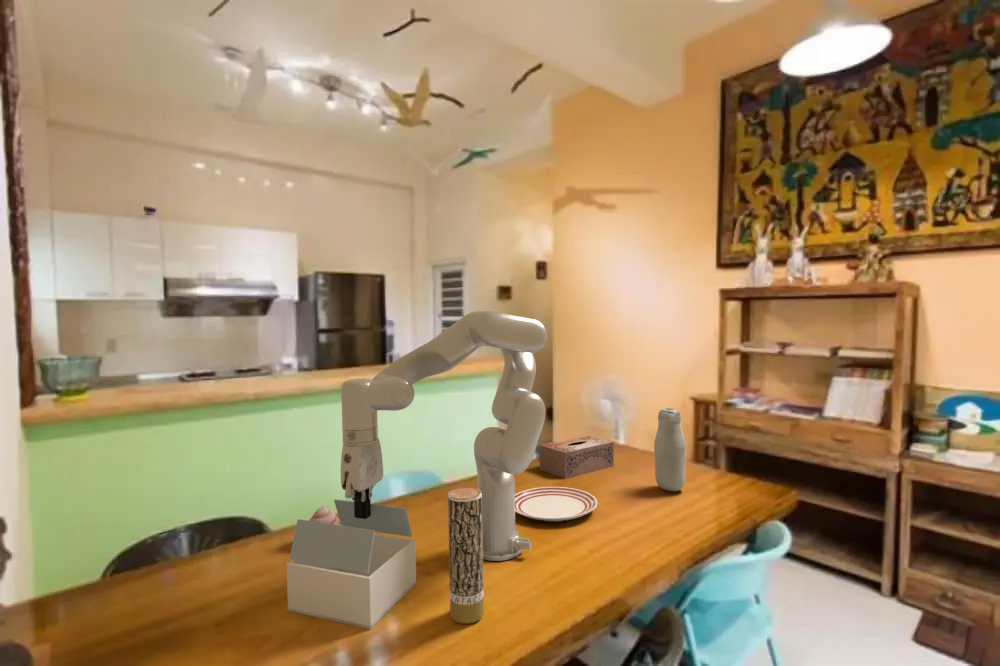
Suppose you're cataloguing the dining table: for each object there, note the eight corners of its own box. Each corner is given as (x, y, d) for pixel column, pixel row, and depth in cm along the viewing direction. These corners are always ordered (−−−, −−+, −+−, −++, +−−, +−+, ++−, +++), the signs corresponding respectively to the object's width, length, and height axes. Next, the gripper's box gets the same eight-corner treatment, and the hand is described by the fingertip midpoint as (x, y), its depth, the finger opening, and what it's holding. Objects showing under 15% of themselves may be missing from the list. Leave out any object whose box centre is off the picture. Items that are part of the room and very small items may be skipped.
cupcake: (348, 537, 142) (347, 501, 141) (330, 552, 133) (329, 514, 132) (318, 534, 144) (317, 498, 143) (298, 549, 135) (297, 511, 134)
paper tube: (450, 607, 107) (448, 488, 106) (483, 605, 107) (481, 486, 106) (450, 626, 100) (447, 500, 99) (484, 624, 100) (482, 498, 100)
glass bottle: (688, 488, 177) (688, 407, 176) (681, 497, 168) (681, 412, 167) (659, 483, 182) (659, 404, 181) (651, 492, 173) (650, 409, 172)
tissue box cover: (565, 479, 188) (565, 452, 188) (540, 470, 200) (539, 445, 200) (613, 466, 203) (613, 441, 203) (587, 458, 215) (587, 435, 215)
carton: (416, 583, 116) (415, 539, 116) (370, 629, 100) (369, 578, 99) (342, 569, 123) (341, 528, 123) (288, 611, 106) (286, 563, 106)
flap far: (411, 537, 116) (412, 536, 116) (405, 509, 113) (405, 508, 113) (341, 526, 122) (342, 525, 122) (333, 500, 119) (334, 499, 120)
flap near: (290, 559, 106) (289, 559, 106) (298, 519, 108) (297, 519, 108) (368, 573, 100) (367, 573, 100) (375, 530, 102) (374, 530, 102)
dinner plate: (494, 521, 152) (494, 510, 151) (525, 491, 177) (525, 481, 177) (586, 534, 141) (586, 522, 141) (605, 500, 167) (605, 490, 166)
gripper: (354, 444, 105) (357, 532, 106) (393, 428, 119) (395, 506, 120) (324, 442, 108) (326, 528, 108) (365, 427, 122) (367, 503, 122)
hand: (362, 516), depth 114 cm, fingers closed
